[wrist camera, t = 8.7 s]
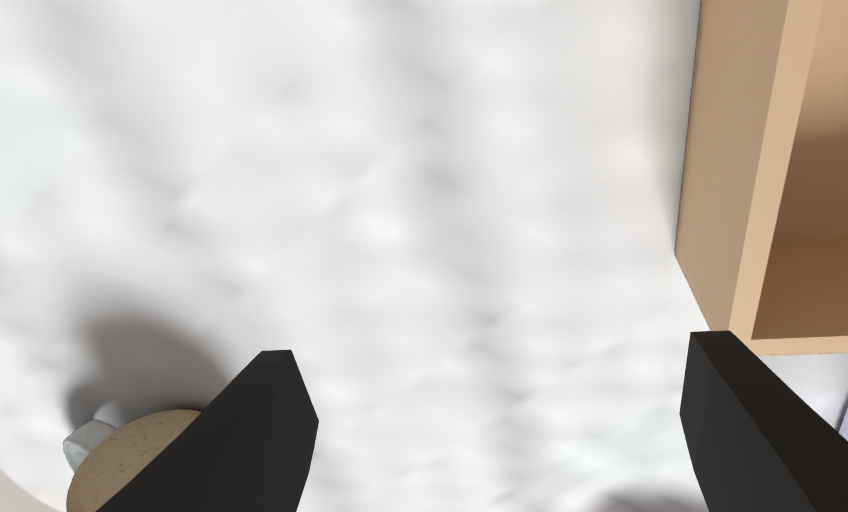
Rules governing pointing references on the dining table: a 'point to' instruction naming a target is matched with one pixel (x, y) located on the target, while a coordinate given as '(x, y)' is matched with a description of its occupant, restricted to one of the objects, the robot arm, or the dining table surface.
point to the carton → (769, 174)
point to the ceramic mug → (116, 454)
